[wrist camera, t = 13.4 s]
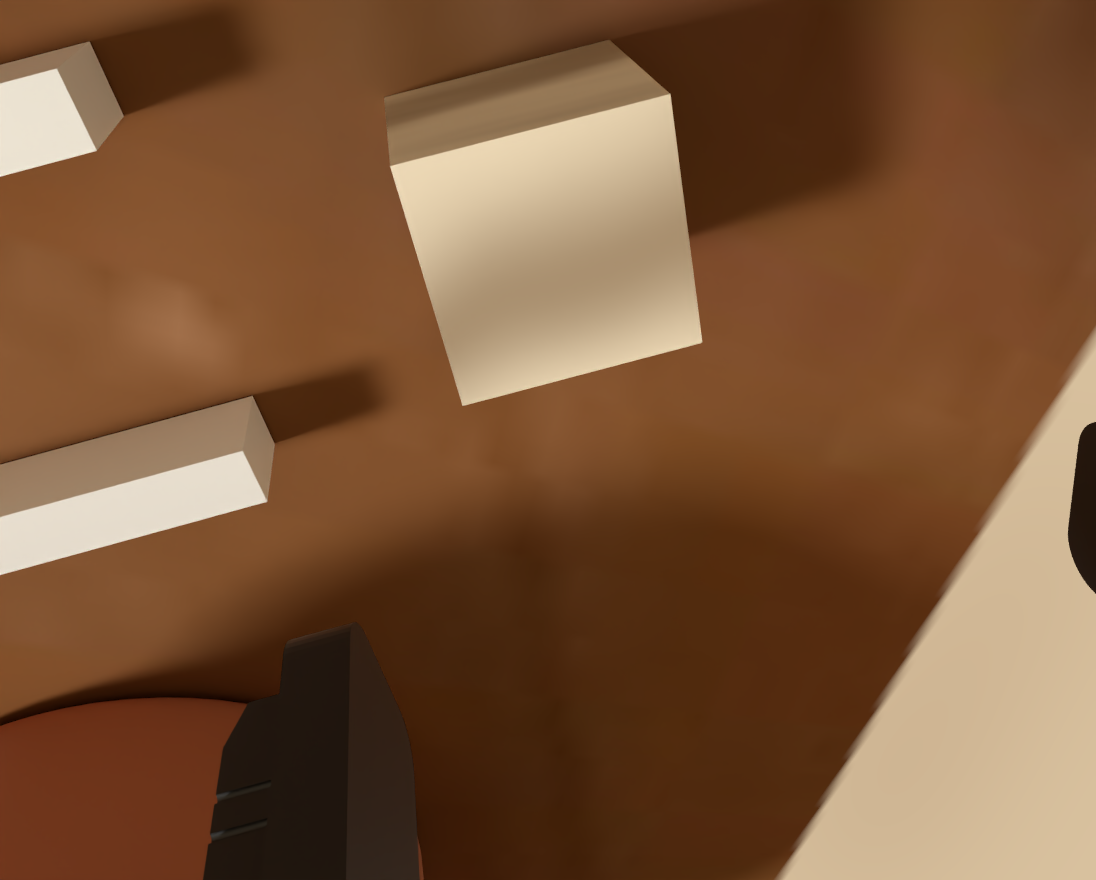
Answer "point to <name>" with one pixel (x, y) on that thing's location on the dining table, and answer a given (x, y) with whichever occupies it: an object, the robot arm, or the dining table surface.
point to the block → (546, 217)
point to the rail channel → (132, 455)
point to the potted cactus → (113, 789)
